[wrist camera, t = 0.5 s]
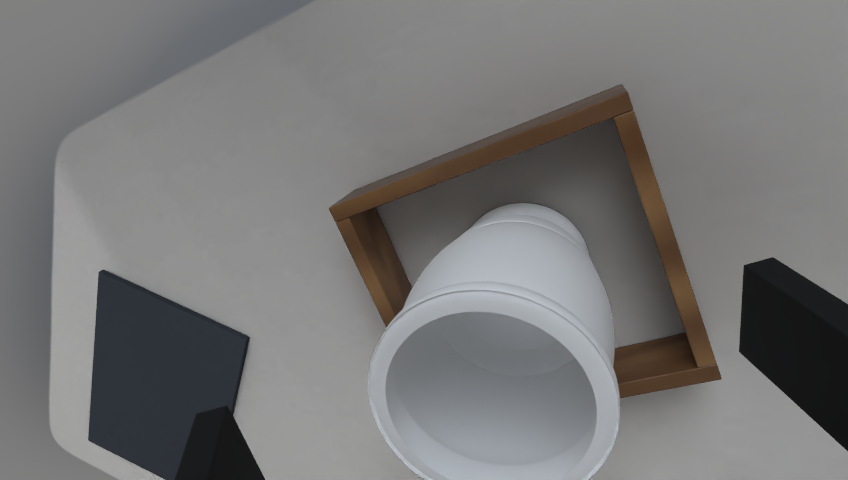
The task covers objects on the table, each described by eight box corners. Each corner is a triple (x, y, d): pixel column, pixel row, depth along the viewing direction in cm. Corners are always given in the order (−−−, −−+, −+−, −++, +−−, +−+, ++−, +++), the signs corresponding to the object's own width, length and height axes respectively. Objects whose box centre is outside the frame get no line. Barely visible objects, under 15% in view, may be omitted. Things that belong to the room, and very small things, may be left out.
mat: (103, 269, 46) (98, 271, 45) (249, 336, 44) (246, 340, 44) (92, 437, 54) (88, 440, 54) (214, 499, 52) (211, 503, 52)
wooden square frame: (352, 190, 37) (327, 208, 33) (622, 83, 30) (627, 90, 27) (449, 397, 41) (436, 432, 37) (707, 342, 34) (721, 379, 31)
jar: (556, 360, 37) (540, 547, 24) (422, 291, 38) (334, 434, 25) (640, 231, 33) (680, 373, 19) (485, 156, 34) (420, 242, 20)
